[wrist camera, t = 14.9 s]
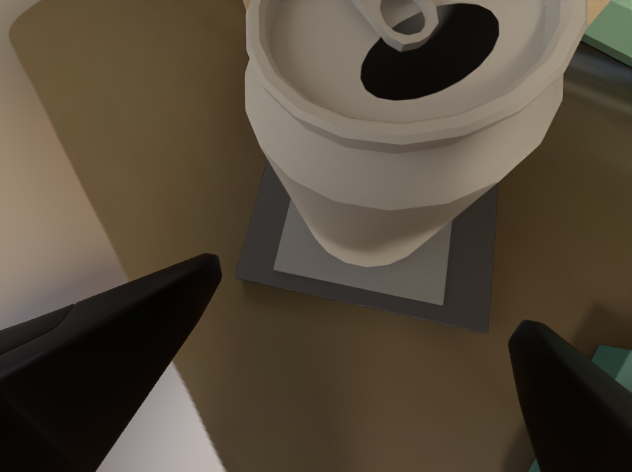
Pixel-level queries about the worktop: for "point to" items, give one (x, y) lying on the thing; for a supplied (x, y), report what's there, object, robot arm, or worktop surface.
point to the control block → (609, 371)
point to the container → (612, 31)
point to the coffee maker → (389, 280)
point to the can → (401, 108)
